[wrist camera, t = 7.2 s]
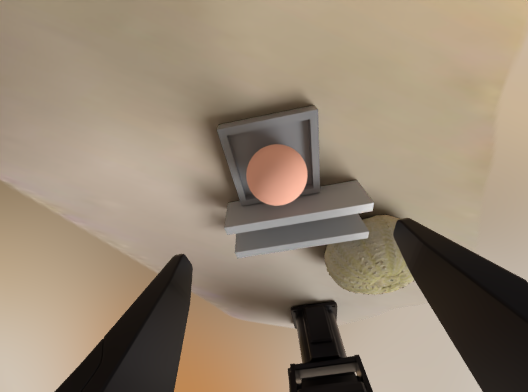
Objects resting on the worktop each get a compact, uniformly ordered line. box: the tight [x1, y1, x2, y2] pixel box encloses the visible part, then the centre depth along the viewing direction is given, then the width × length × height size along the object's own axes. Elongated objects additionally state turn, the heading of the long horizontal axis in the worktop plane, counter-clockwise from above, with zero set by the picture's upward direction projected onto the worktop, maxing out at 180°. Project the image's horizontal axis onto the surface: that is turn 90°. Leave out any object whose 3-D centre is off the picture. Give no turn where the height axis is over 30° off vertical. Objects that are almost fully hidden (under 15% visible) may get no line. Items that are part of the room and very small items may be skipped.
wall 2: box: [235, 214, 369, 258], centre depth 19 cm, size 1×11×3 cm, turn 100°
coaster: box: [217, 105, 320, 206], centre depth 15 cm, size 6×6×1 cm
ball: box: [246, 144, 307, 206], centre depth 14 cm, size 4×4×4 cm
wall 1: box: [224, 180, 374, 235], centre depth 17 cm, size 1×11×3 cm, turn 100°
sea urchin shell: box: [324, 215, 414, 295], centre depth 21 cm, size 9×8×8 cm
